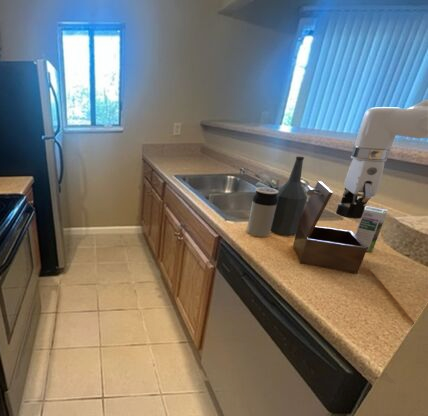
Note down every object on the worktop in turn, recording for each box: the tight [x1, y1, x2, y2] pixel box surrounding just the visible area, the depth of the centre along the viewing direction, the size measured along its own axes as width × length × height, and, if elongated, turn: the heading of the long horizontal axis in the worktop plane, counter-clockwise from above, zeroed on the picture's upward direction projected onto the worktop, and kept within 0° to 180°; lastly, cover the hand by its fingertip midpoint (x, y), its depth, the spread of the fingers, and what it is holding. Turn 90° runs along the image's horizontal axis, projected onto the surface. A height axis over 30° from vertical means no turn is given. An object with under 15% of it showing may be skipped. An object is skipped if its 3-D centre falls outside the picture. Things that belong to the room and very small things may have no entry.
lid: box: [298, 180, 334, 238], centre depth 87 cm, size 15×13×5 cm
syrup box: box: [354, 205, 389, 253], centre depth 95 cm, size 6×6×14 cm
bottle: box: [270, 155, 308, 237], centre depth 105 cm, size 10×10×30 cm
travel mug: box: [246, 186, 279, 238], centre depth 105 cm, size 8×8×18 cm
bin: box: [292, 225, 367, 275], centre depth 89 cm, size 15×13×9 cm
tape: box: [335, 202, 365, 220], centre depth 83 cm, size 6×6×3 cm
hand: (349, 212), depth 83 cm, fingers closed on tape, 6 cm apart
